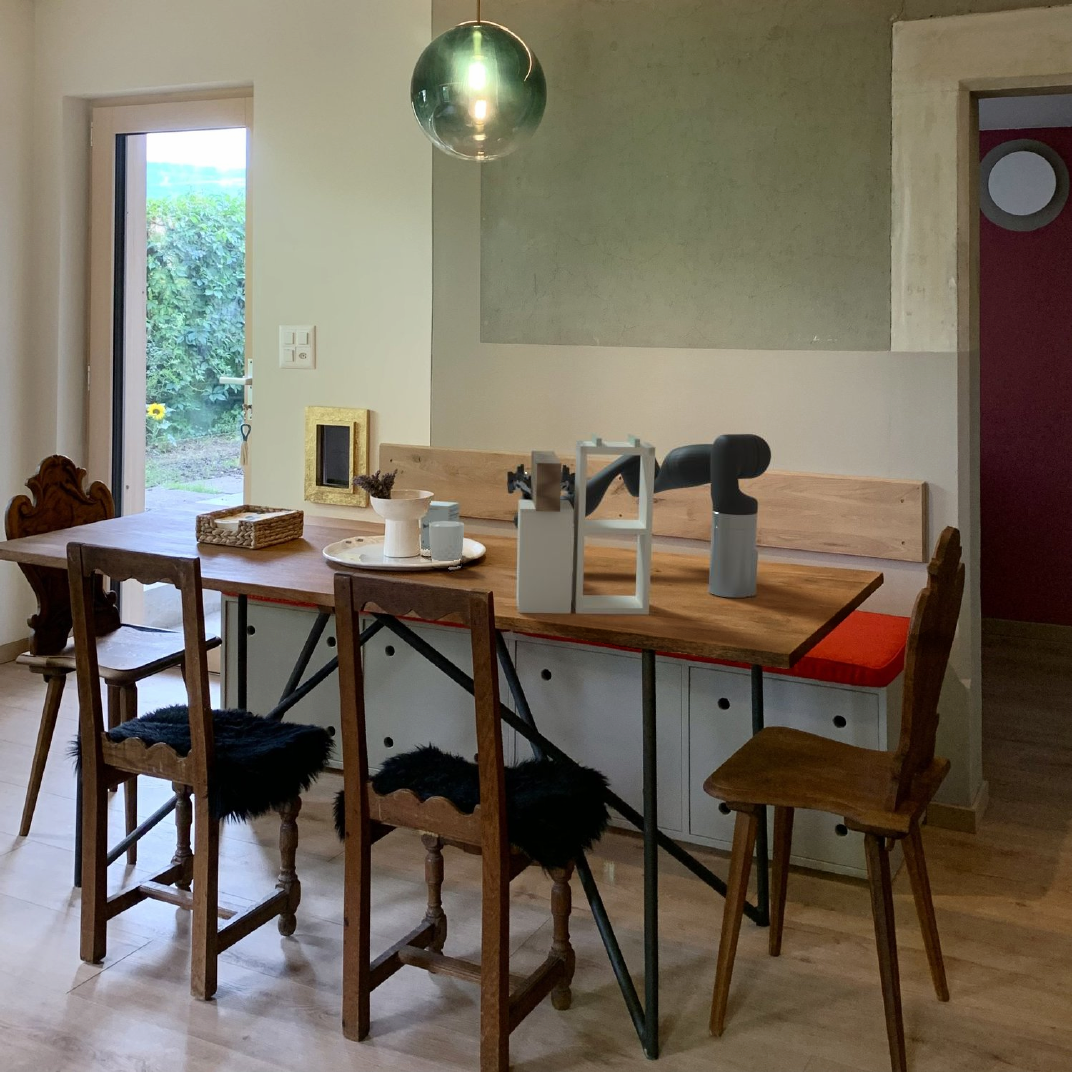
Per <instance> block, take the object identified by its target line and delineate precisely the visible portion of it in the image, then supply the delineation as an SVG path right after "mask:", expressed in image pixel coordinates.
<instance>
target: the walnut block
mask: <svg viewBox="0 0 1072 1072" xmlns="http://www.w3.org/2000/svg"><path fill="white" fill-rule="evenodd" d="M530 457H531V458H530V459H531V460H530V461H531V463H530V464H531V465H530V466H531V467H530V474H531V497H532V500H533V503H534V507H535V510H536V511H547V512H560V502H561V496H562V491H561V472H562V464H563V463H562V462H561V460H560V459H559V457H558V455H557V454H556V453H555V451H554V450H531V456H530Z"/></svg>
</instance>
